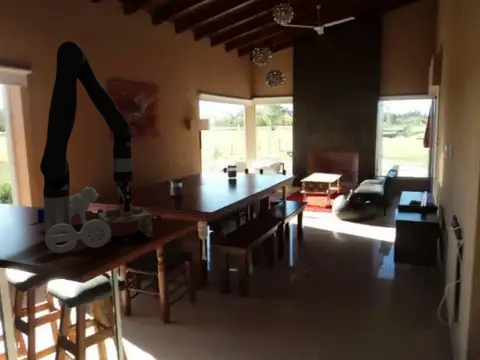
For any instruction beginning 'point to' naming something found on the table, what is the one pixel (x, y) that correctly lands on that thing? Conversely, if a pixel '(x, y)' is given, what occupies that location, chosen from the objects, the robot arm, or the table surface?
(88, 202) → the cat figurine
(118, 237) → the table surface
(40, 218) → the cable clip
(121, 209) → the tan block
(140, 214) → the shelf
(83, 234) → the gray double disc plate
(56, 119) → the robot arm
